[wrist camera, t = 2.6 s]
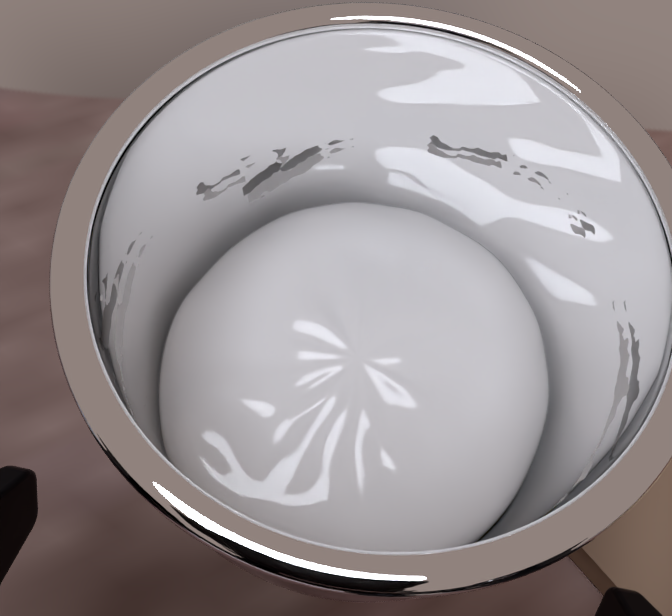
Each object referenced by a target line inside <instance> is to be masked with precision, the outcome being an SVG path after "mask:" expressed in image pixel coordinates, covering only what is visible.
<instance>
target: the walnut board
mask: <svg viewBox="0 0 672 616" xmlns="http://www.w3.org/2000/svg"><path fill="white" fill-rule="evenodd" d="M568 556H569V557H570V558H571V559H572V560H573V561H574V563H575V564H576V565H577V566H578V567H579V568H580V569H581V571H582V572H583V573H584V574H585V575H586V576H587V577H588V578H589V580H590V581H591V582H592V583H593V584H594V585H595V586H596V587H597V589H598V590H599V591H600V592H601V593H602V594H603V595H604V594H605V592H606V591H607V589H609V588H610V587H620V588H625V589H629V590H634V591H637V592H639V593H640V594H641V595H643V596H644V597H645V598H646V599H647V600H648V601H649V602H650V603H651V604H652V605H653V606H654V607H655V608H656V609H657V610H658V611H659V612H660V613H661V614H662V615H663V616H672V460H671V461H670V463H669V464H668V466H667V467H666V469H665V470H664V471H663V473H662V474H661V476H660V477H659V478H658V480H657V481H656V482H655V483H654V485H653V486H652V487H651V488H650V489H649V490H648V492H647V493H646V494H645V495H644V496H643V497H642V498H641V499H640V500H639V501H638V502H637V503H636V504H635V506H634V507H632V508H631V509H630V510H629V511H628V512H627V513H626V514H625V515H624V516H623V517H622V518H621V519H619V520H618V521H617V522H616V523H615V524H613V525H612V526H611V527H610V528H608V529H607V530H606V531H605V532H603V533H602V534H601V535H599V536H598V537H596V538H595V539H594V540H592V541H591V542H589V543H588V544H586V545H585V546H583V547H581V548H580V549H578V550H577V551H575V552H573V553H572V554H570V555H568Z"/></svg>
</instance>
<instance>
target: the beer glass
mask: <svg viewBox="0 0 672 616" xmlns="http://www.w3.org/2000/svg"><path fill="white" fill-rule="evenodd" d="M49 298H50V312H51V320H52V328H53V333H54V339H55V344H56V348H57V352H58V356H59V359H60V363H61V366H62V369H63V372H64V375H65V378H66V381H67V383H68V386H69V389H70V391H71V394H72V396H73V398H74V400H75V403H76V405H77V407H78V409H79V411H80V413H81V415H82V417H83V419H84V421H85V423H86V424H87V426H88V428H89V429H90V431H91V433H92V435H93V436H94V438H95V439H96V441H97V442H98V444H99V445H100V447H101V448H102V450H103V451H104V453H105V454H106V455H107V457H108V458H109V459H110V461H111V462H112V463H113V465H114V466H115V467H116V468H117V470H118V471H119V472H120V473H121V474H122V475H123V477H124V478H125V479H126V480H127V481H128V482H129V483H130V484H131V485H132V487H133V488H134V489H135V490H136V491H137V492H138V493H139V494H140V495H141V496H142V497H143V498H144V499H145V500H146V501H147V502H149V503H150V504H151V505H152V506H153V507H154V508H155V509H156V510H158V511H159V512H160V513H161V514H162V515H163V516H165V517H166V518H167V519H168V520H170V521H171V522H172V523H173V524H175V525H176V526H177V527H179V528H180V529H181V530H183V531H184V532H186V533H187V534H189V535H190V536H192V537H193V538H195V539H196V540H198V541H199V542H201V543H203V544H204V545H206V546H208V547H209V548H211V549H212V550H213V551H215V552H216V553H217V554H219V555H220V556H222V557H223V558H224V559H226V560H227V561H229V562H230V563H232V564H234V565H235V566H237V567H239V568H240V569H242V570H244V571H246V572H248V573H250V574H252V575H253V576H255V577H258V578H260V579H262V580H264V581H266V582H269V583H271V584H274V585H276V586H279V587H282V588H285V589H288V590H291V591H294V592H297V593H301V594H304V595H309V596H313V597H318V598H323V599H329V600H336V601H345V602H370V603H376V602H390V601H400V600H407V599H413V598H431V597H440V596H449V595H455V594H460V593H466V592H471V591H476V590H480V589H485V588H489V587H492V586H496V585H499V584H502V583H506V582H509V581H512V580H515V579H518V578H520V577H523V576H526V575H528V574H531V573H533V572H536V571H538V570H540V569H543V568H545V567H547V566H549V565H551V564H553V563H555V562H557V561H559V560H561V559H563V558H565V557H566V556H568V555H570V554H572V553H573V552H575V551H577V550H578V549H580V548H581V547H583V546H585V545H586V544H588V543H589V542H591V541H592V540H594V539H595V538H596V537H598V536H599V535H601V534H602V533H603V532H605V531H606V530H607V529H608V528H610V527H611V526H612V525H613V524H615V523H616V522H617V521H618V520H619V519H621V518H622V517H623V516H624V515H625V514H626V513H627V512H628V511H629V510H630V509H631V508H632V507H634V506H635V504H636V503H637V502H638V501H639V500H640V499H641V498H642V497H643V496H644V495H645V494H646V493H647V492H648V490H649V489H650V488H651V487H652V486H653V485H654V483H655V482H656V481H657V480H658V478H659V477H660V476H661V474H662V473H663V471H664V470H665V469H666V467H667V466H668V464H669V463H670V461H671V460H672V167H671V165H670V164H669V162H668V160H667V159H666V157H665V156H664V154H663V153H662V151H661V150H660V149H659V147H658V146H657V144H656V143H655V142H654V140H653V139H652V138H651V137H650V135H649V134H648V133H647V132H646V130H645V129H644V128H643V127H642V126H641V124H640V123H639V122H638V121H637V120H636V119H635V118H634V117H633V116H632V115H631V114H630V113H629V112H628V111H627V109H625V107H623V105H621V104H620V103H619V102H618V101H617V100H616V99H615V98H614V97H613V96H612V95H611V94H609V93H608V92H607V91H606V90H605V89H604V88H603V87H602V86H600V85H599V84H598V83H597V82H595V81H594V80H593V79H591V78H590V77H589V76H587V75H586V74H585V73H583V72H582V71H580V70H579V69H578V68H576V67H575V66H573V65H572V64H570V63H569V62H567V61H566V60H564V59H563V58H561V57H559V56H558V55H556V54H554V53H553V52H551V51H549V50H547V49H546V48H544V47H542V46H540V45H538V44H536V43H534V42H532V41H530V40H528V39H526V38H524V37H522V36H519V35H517V34H515V33H513V32H510V31H508V30H505V29H503V28H500V27H498V26H495V25H492V24H489V23H486V22H483V21H480V20H477V19H474V18H471V17H467V16H464V15H459V14H456V13H451V12H447V11H442V10H438V9H432V8H427V7H421V6H413V5H405V4H395V3H373V2H366V3H365V2H364V3H363V2H358V3H357V2H356V3H337V4H326V5H317V6H311V7H305V8H299V9H294V10H289V11H284V12H280V13H276V14H272V15H268V16H265V17H262V18H258V19H255V20H252V21H249V22H246V23H244V24H241V25H238V26H236V27H233V28H231V29H228V30H226V31H224V32H221V33H219V34H217V35H215V36H213V37H211V38H208V39H206V40H205V41H203V42H201V43H199V44H197V45H195V46H194V47H192V48H190V49H189V50H187V51H185V52H184V53H182V54H180V55H179V56H177V57H176V58H174V59H173V60H172V61H170V62H169V63H167V64H166V65H165V66H163V67H162V68H160V69H159V70H158V71H156V72H155V73H154V74H152V75H151V76H150V77H149V78H148V79H146V80H145V81H144V82H143V83H142V84H141V85H140V86H139V87H138V88H136V89H135V90H134V91H133V92H132V93H131V94H130V95H129V96H128V97H127V98H126V99H125V100H124V101H123V102H122V104H121V105H120V106H119V107H118V108H117V109H116V110H115V111H114V113H113V114H112V115H111V116H110V117H109V119H108V120H107V121H106V122H105V124H104V125H103V126H102V128H101V129H100V131H99V132H98V133H97V135H96V136H95V138H94V139H93V141H92V142H91V144H90V145H89V147H88V149H87V151H86V152H85V154H84V156H83V157H82V159H81V161H80V163H79V165H78V167H77V169H76V171H75V173H74V175H73V177H72V180H71V182H70V184H69V187H68V189H67V192H66V194H65V197H64V200H63V203H62V206H61V209H60V212H59V216H58V220H57V224H56V228H55V233H54V237H53V244H52V250H51V259H50V272H49Z"/></svg>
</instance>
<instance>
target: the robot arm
mask: <svg viewBox="0 0 672 616" xmlns="http://www.w3.org/2000/svg"><path fill="white" fill-rule="evenodd" d="M37 513H38V502H37V479H36V474H35V472H34V471H32V470H30V469H26V468H21V467H16V466H5V467H2V468H0V584H1V582H2V581H3V579H4V577H5V575H6V574H7V572H8V570H9V568H10V567H11V565H12V563H13V561H14V560H15V558H16V556H17V554H18V553H19V551H20V549H21V547H22V546H23V544H24V542H25V540H26V539H27V537H28V535H29V533H30V532H31V530H32V528H33V526H34V524H35V521H36V518H37ZM595 616H663V615H662V614H661V613H660V612H659V611H658V610H657V609H656V608H655V607H654V606H653V605H652V604H651V603H650V602H649V601H648V600H647V599H646V598H645V597H644V596H643V595H641V594H640V593H639V592H637V591H634V590H629V589H625V588H620V587H610V588H609V589H607V591H606V592H605V594H604V596H603V599H602V601H601V603H600V605H599V607H598V610H597V612H596V614H595Z"/></svg>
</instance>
